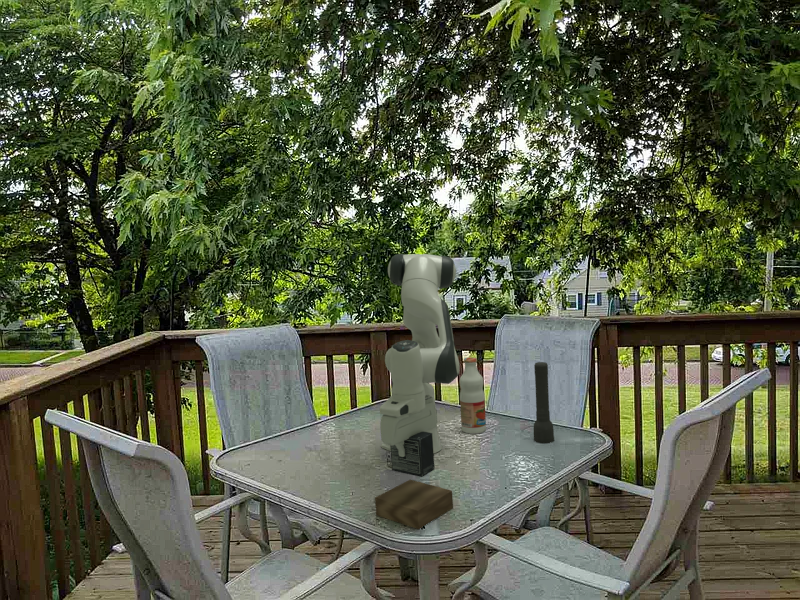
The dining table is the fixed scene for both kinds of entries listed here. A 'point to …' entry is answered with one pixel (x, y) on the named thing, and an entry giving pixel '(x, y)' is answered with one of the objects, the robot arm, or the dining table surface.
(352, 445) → the dining table surface
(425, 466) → the small box
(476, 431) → the fruit juice
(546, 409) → the flashlight
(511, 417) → the dining table surface
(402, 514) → the stand
